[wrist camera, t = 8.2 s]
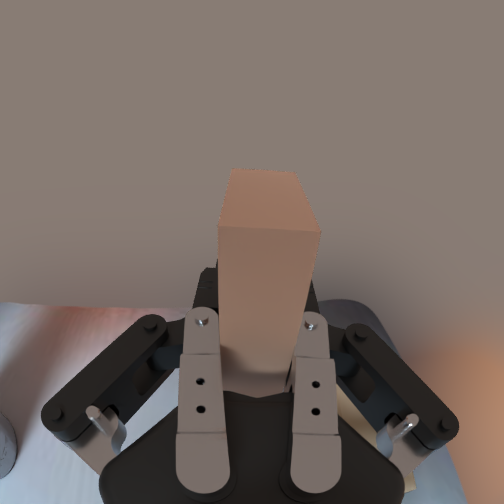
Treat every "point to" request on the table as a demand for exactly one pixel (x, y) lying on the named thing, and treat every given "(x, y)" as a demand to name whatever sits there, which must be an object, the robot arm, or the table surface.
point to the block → (263, 277)
